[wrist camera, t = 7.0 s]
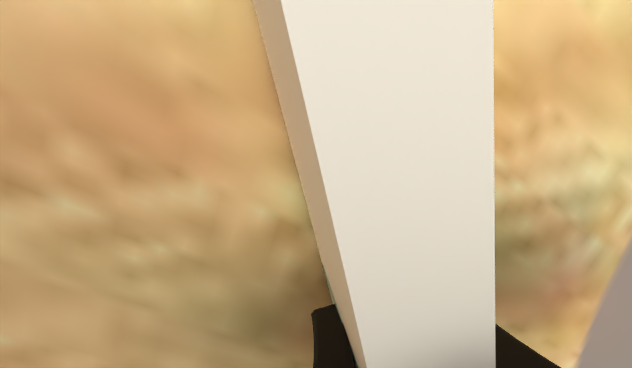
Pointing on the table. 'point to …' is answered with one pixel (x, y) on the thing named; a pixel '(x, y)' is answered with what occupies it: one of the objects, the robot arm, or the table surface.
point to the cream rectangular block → (395, 168)
